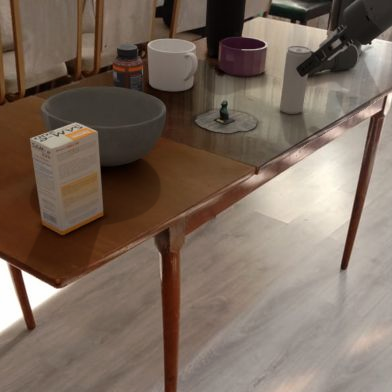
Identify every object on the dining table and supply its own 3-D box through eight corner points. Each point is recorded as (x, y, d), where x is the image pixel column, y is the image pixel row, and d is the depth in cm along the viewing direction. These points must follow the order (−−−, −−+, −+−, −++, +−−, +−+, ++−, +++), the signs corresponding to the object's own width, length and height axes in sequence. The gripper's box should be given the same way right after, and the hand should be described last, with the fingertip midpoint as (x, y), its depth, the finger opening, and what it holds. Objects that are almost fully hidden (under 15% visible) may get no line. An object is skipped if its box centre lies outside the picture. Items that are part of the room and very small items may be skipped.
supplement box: (83, 205, 96) (75, 120, 87) (104, 216, 94) (99, 130, 85) (40, 224, 91) (28, 136, 82) (61, 237, 89) (51, 147, 80)
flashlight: (307, 79, 146) (310, 55, 143) (293, 73, 150) (296, 48, 146) (356, 71, 153) (361, 47, 149) (341, 64, 156) (345, 41, 153)
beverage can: (304, 108, 132) (313, 47, 124) (299, 116, 128) (309, 54, 120) (282, 105, 133) (290, 44, 125) (276, 112, 129) (284, 50, 122)
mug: (138, 81, 140) (137, 43, 135) (174, 73, 146) (175, 36, 140) (176, 99, 133) (177, 59, 127) (213, 90, 138) (215, 51, 133)
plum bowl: (234, 60, 156) (236, 33, 152) (273, 69, 151) (276, 42, 147) (209, 70, 149) (210, 43, 145) (249, 81, 144) (252, 53, 140)
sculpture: (190, 130, 121) (195, 90, 121) (198, 146, 130) (202, 108, 130) (252, 134, 119) (257, 92, 119) (255, 150, 128) (259, 111, 128)
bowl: (178, 180, 104) (180, 120, 97) (54, 192, 99) (47, 129, 92) (150, 133, 118) (150, 78, 112) (40, 141, 113) (33, 84, 107)
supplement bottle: (148, 103, 130) (148, 45, 123) (134, 112, 126) (133, 52, 119) (123, 98, 132) (121, 40, 124) (109, 107, 128) (106, 47, 120)
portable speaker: (199, 51, 160) (203, -38, 147) (232, 49, 163) (239, -39, 150) (211, 61, 154) (217, -31, 141) (246, 58, 157) (254, -32, 144)
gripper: (373, -15, 117) (305, 42, 128) (355, 0, 107) (283, 59, 118) (394, 21, 119) (325, 73, 130) (378, 38, 109) (305, 93, 120)
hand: (305, 66), depth 124 cm, fingers open, 8 cm apart
